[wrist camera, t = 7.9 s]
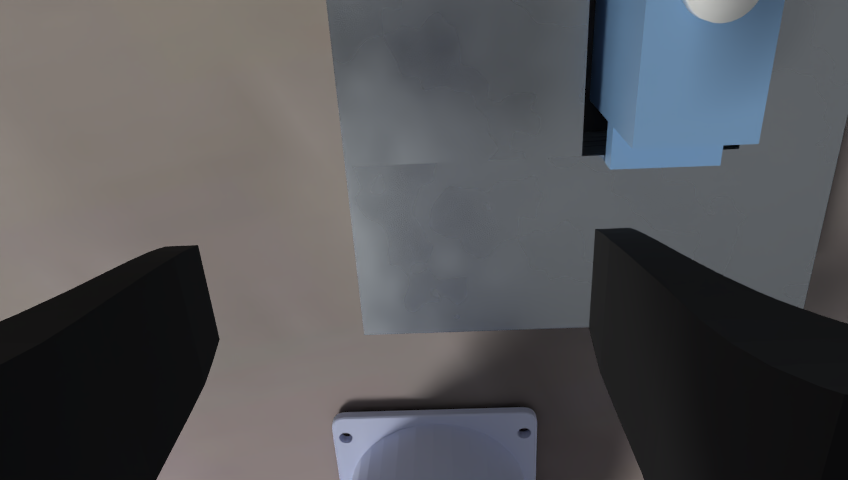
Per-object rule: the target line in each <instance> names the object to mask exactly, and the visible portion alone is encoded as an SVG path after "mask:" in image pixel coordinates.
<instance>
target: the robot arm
mask: <svg viewBox="0 0 848 480" xmlns="http://www.w3.org/2000/svg"><path fill="white" fill-rule="evenodd" d="M589 329H590V333H591V338H592V342H593V346H594V350H595V354H596V358H597V362H598V366H599V369H600V373H601V375H602V378H603V380H604V383H605V385H606V388H607V390H608V393H609V395H610V398H611V400H612V403H613V405H614V407H615V410H616V412H617V415H618V417H619V419H620V422H621V424H622V427H623V429H624V431H625V434H626V436H627V439H628V441H629V443H630V446H631V448H632V451H633V453H634V455H635V458H636V460H637V463H638V465H639V467H640V470H641V472H642V475H643V478H644V480H848V324H847V323H843V322H840V321H837V320H834V319H831V318H827V317H824V316H821V315H818V314H815V313H813V312H810V311H807V310H804V309H802V308H799V307H796V306H794V305H791V304H788V303H785V302H783V301H780V300H777V299H775V298H772V297H770V296H768V295H765V294H763V293H760V292H758V291H756V290H754V289H751V288H749V287H747V286H745V285H743V284H741V283H738V282H736V281H734V280H732V279H730V278H728V277H726V276H723V275H721V274H719V273H717V272H715V271H713V270H711V269H710V268H708V267H706V266H704V265H702V264H700V263H698V262H696V261H694V260H692V259H691V258H689V257H687V256H685V255H683V254H681V253H679V252H678V251H676V250H674V249H672V248H670V247H668V246H667V245H665V244H663V243H661V242H659V241H657V240H656V239H654V238H652V237H650V236H648V235H646V234H644V233H642V232H640V231H638V230H635V229H632V228H610V229H595V239H594V255H593V271H592V286H591V302H590V318H589ZM218 342H219V335H218V331H217V326H216V322H215V318H214V313H213V309H212V304H211V300H210V296H209V291H208V287H207V283H206V278H205V274H204V270H203V265H202V261H201V256H200V252H199V248H198V245H194V246H170V247H163V248H159V249H156V250H153V251H151V252H148V253H146V254H143V255H141V256H139V257H137V258H134V259H132V260H130V261H128V262H126V263H124V264H122V265H120V266H118V267H116V268H114V269H112V270H110V271H107V272H105V273H103V274H101V275H99V276H97V277H95V278H93V279H91V280H89V281H87V282H85V283H83V284H81V285H79V286H77V287H75V288H73V289H71V290H69V291H67V292H65V293H62V294H60V295H58V296H56V297H54V298H52V299H49V300H47V301H45V302H43V303H41V304H38V305H36V306H34V307H32V308H30V309H28V310H25V311H23V312H21V313H19V314H17V315H14V316H12V317H10V318H7V319H5V320H3V321H0V480H156V479H157V477H158V475H159V473H160V471H161V469H162V467H163V466H164V464H165V462H166V460H167V458H168V456H169V454H170V452H171V450H172V448H173V446H174V444H175V442H176V440H177V438H178V437H179V435H180V433H181V431H182V429H183V427H184V425H185V423H186V421H187V419H188V417H189V415H190V413H191V411H192V409H193V407H194V405H195V403H196V401H197V399H198V397H199V395H200V393H201V391H202V389H203V387H204V385H205V383H206V380H207V377H208V374H209V371H210V368H211V365H212V362H213V359H214V356H215V352H216V349H217V346H218ZM522 428H527V429H528V430H527V431H519V430H520V429H522ZM332 431H333V437H334V444H335V451H336V457H337V464H338V471H339V477H340V480H536V452H537V418H536V414H535V412H534V411H533V410H532V409H530V408H527V407H509V408H474V409H439V410H404V411H369V412H343V413H339V414H337V415H336V416H335V417H334V419H333V424H332ZM342 433H349V434H350V435H351V436H344V435H343V434H342Z"/></svg>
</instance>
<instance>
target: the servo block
mask: <svg viewBox="0 0 848 480" xmlns="http://www.w3.org/2000/svg"><path fill="white" fill-rule="evenodd" d="M784 2H785V0H596V3H595V19H594V35H593V50H592V66H591V82H590V98H589V100H590V101H591V102H592V104H593V105H594V106H595V107H596V108H597V109H598V110H599V111H600V113H601V114H602V115H603V116H604V117H605V118H606V119H607V121H608V129H607V142H606V155H605V163H606V165H607V166H608V168H609V169H610V170H613V169H640V168H667V167H694V166H720V164H721V158H722V151H723V145H745V144H759V139H760V134H761V128H762V123H763V117H764V112H765V106H766V101H767V95H768V90H769V84H770V79H771V74H772V68H773V63H774V57H775V52H776V46H777V41H778V35H779V30H780V24H781V19H782V13H783V8H784Z"/></svg>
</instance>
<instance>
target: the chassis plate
mask: <svg viewBox="0 0 848 480" xmlns="http://www.w3.org/2000/svg"><path fill="white" fill-rule="evenodd" d="M326 3H327V12H328V20H329V29H330V38H331V47H332V56H333V64H334V73H335V82H336V91H337V99H338V108H339V117H340V126H341V135H342V143H343V152H344V161H345V170H346V179H347V187H348V196H349V205H350V214H351V222H352V231H353V240H354V249H355V258H356V266H357V275H358V284H359V293H360V302H361V310H362V319H363V328H364V335H375V334H405V333H434V332H464V331H493V330H522V329H552V328H581V327H589V318H590V302H591V286H592V271H593V255H594V239H595V229H610V228H632V229H635V230H638V231H640V232H642V233H644V234H646V235H648V236H650V237H652V238H654V239H656V240H657V241H659V242H661V243H663V244H665V245H667V246H668V247H670V248H672V249H674V250H676V251H678V252H679V253H681V254H683V255H685V256H687V257H689V258H691V259H692V260H694V261H696V262H698V263H700V264H702V265H704V266H706V267H708V268H710V269H711V270H713V271H715V272H717V273H719V274H721V275H723V276H726V277H728V278H730V279H732V280H734V281H736V282H738V283H741V284H743V285H745V286H747V287H749V288H751V289H754V290H756V291H758V292H760V293H763V294H765V295H768V296H770V297H772V298H775V299H777V300H780V301H783V302H785V303H788V304H791V305H794V306H796V307H799V308H802V309H804V304H805V300H806V295H807V291H808V287H809V282H810V278H811V274H812V269H813V265H814V260H815V256H816V252H817V247H818V243H819V239H820V234H821V230H822V225H823V221H824V217H825V212H826V208H827V203H828V199H829V195H830V190H831V186H832V182H833V177H834V173H835V168H836V164H837V160H838V155H839V151H840V147H841V142H842V138H843V133H844V129H845V125H846V120H847V116H848V0H785V2H784V8H783V13H782V19H781V24H780V30H779V35H778V41H777V46H776V52H775V57H774V63H773V68H772V74H771V79H770V84H769V90H768V95H767V101H766V106H765V112H764V117H763V123H762V128H761V134H760V139H759V144H745V145H723V151H722V158H721V164H720V166H694V167H667V168H640V169H613V170H610V169H609V168H608V166H607V165H606V163H605V155H606V142H607V131H592V132H583V122H584V102H585V83H586V63H587V43H588V24H589V4H590V0H326Z"/></svg>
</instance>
